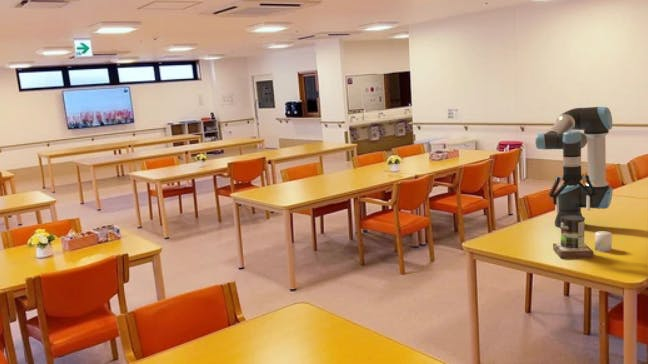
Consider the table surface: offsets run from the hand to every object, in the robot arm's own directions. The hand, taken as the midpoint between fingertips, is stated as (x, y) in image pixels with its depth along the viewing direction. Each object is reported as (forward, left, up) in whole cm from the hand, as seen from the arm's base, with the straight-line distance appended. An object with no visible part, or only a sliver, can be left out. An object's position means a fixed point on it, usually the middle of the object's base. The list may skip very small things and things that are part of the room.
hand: (572, 210), depth 253 cm
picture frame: (0, 0, -21) cm, 21 cm away
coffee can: (0, 0, -17) cm, 17 cm away
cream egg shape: (-5, +15, -21) cm, 26 cm away
